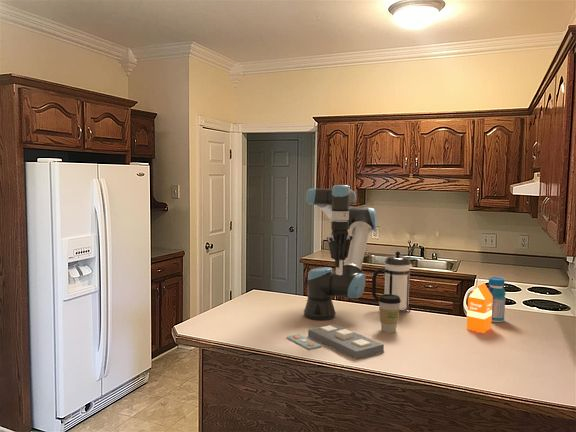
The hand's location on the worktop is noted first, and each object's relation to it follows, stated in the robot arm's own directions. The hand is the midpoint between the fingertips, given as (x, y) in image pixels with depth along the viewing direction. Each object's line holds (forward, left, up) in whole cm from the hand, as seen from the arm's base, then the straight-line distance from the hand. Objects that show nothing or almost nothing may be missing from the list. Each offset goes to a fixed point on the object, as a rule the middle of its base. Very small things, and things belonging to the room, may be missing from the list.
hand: (339, 274), depth 210 cm
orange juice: (+33, +54, -25) cm, 68 cm away
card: (+6, -23, -24) cm, 34 cm away
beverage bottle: (+29, +72, -25) cm, 81 cm away
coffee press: (-8, +43, -25) cm, 50 cm away
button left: (+6, -10, -24) cm, 27 cm away
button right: (+26, -10, -24) cm, 37 cm away
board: (+16, -10, -24) cm, 31 cm away
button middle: (+16, -10, -23) cm, 30 cm away
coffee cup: (+13, +18, -25) cm, 33 cm away
